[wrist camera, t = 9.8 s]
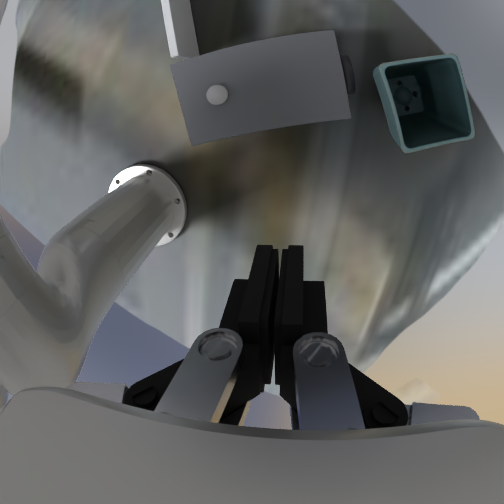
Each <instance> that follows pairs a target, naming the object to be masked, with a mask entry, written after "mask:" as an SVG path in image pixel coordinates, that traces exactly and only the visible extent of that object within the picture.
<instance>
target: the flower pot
mask: <svg viewBox="0 0 504 504" xmlns="http://www.w3.org/2000/svg"><path fill="white" fill-rule="evenodd" d="M373 77H374V80H375V83H376V86H377V89H378V92H379V95H380V98H381V102H382V105H383V108H384V112H385V115H386V119H387V123H388V127H389V131H390V134H391V136H392V137H393V139H394V140H395V142H396V143H397V144H398V146H399V147H400V148H401V149H402V151H403V152H404V153H411V152H415V151H419V150H423V149H427V148H431V147H436V146H440V145H444V144H449V143H454V142H459V141H465V140H470V139H472V138H474V136H475V130H474V124H473V119H472V114H471V108H470V103H469V99H468V94H467V90H466V86H465V81H464V78H463V74H462V70H461V66H460V63H459V60H458V58H457V56H456V55H455V54H443V55H436V56H428V57H420V58H413V59H406V60H399V61H393V62H387V63H382V64H380V65H379V66H378V67H376V68H375V69H374V70H373ZM398 81H400V82H401V85H398V84H397V82H398ZM413 92H415V93H416V95H415V96H414V95H413V94H412V93H413ZM405 107H408V110H405V109H404V108H405Z"/></svg>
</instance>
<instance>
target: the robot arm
mask: <svg viewBox="0 0 504 504" xmlns="http://www.w3.org/2000/svg"><path fill="white" fill-rule="evenodd" d="M151 171H152V172H151ZM179 199H180V200H179ZM186 216H187V205H186V201H185V197H184V194H183V192H182V190H181V188H180V186H179V185H178V184H177V182H176V181H175V180H174V179H173V178H172V177H171V176H170V175H169V174H168V173H167V172H165V171H164V170H162V169H160V168H158V167H156V166H153V165H148V164H137V165H132V166H130V167H128V168H126V169H124V170H122V171H121V172H120V173H119V174H118V175H117V176H116V177H115V178H114V180H113V181H112V183H111V185H110V188H109V193H108V194H106V195H105V196H104V197H102V198H101V199H100V200H98V201H97V202H96V203H94V204H93V205H91V206H90V207H89V208H88V209H86V210H85V211H84V212H82V213H81V214H80V215H78V216H77V217H76V218H75V219H73V220H72V221H71V222H70V223H68V224H67V225H66V226H65V227H63V228H62V229H61V230H60V231H59V232H57V233H56V234H55V235H54V236H53V237H52V238H51V239H50V240H49V242H48V243H47V245H46V246H45V248H44V251H43V253H42V255H41V257H40V261H39V264H38V269H37V272H36V271H35V269H34V268H33V266H32V265H31V263H30V262H29V260H28V259H27V257H26V256H25V254H24V252H23V251H22V249H21V248H20V246H19V245H18V243H17V241H16V239H15V238H14V236H13V234H12V233H11V231H10V230H9V228H8V226H7V225H6V223H5V221H4V220H3V218H2V217H1V215H0V504H504V425H502V424H499V423H495V422H491V421H485V420H479V416H478V415H477V413H476V412H475V411H474V410H473V409H471V408H470V407H466V406H452V405H437V404H426V403H416V402H413V403H412V405H406V404H404V403H403V402H402V401H401V400H399V399H398V398H397V397H395V396H394V395H393V394H391V393H390V392H388V391H387V390H385V389H384V388H383V387H381V386H380V385H378V384H377V383H376V382H374V381H373V380H371V379H370V378H369V377H367V376H366V375H364V374H363V373H362V372H360V371H359V370H358V369H356V368H355V367H353V366H352V365H351V364H349V363H348V360H347V357H346V353H345V350H344V347H343V345H342V343H341V342H340V341H339V340H338V339H337V338H336V337H334V336H332V335H331V334H328V331H327V314H326V299H325V287H324V281H303V246H300V245H289V246H288V249H283V250H282V259H281V268H280V277H279V257H278V249H273V246H272V245H257V248H256V252H255V256H254V259H253V263H252V267H251V271H250V275H249V279H235V280H234V282H233V285H232V288H231V291H230V294H229V297H228V301H227V304H226V307H225V310H224V313H223V316H222V320H221V323H220V326H219V328H214V329H210V330H208V331H205V332H203V333H202V334H201V335H199V336H198V337H197V339H196V340H195V341H194V343H193V345H192V346H191V348H190V350H189V352H188V353H187V355H186V357H185V358H184V359H182V360H181V361H178V362H176V363H174V364H173V365H171V366H169V367H167V368H165V369H163V370H161V371H159V372H157V373H155V374H152V375H150V376H148V377H146V378H144V379H142V380H140V381H138V382H136V383H135V384H133V385H132V386H131V387H127V385H126V384H119V383H91V382H76V380H77V378H78V376H79V374H80V372H81V369H82V367H83V364H84V362H85V359H86V356H87V353H88V350H89V347H90V345H91V342H92V340H93V337H94V335H95V333H96V331H97V329H98V327H99V325H100V323H101V322H102V319H103V318H104V316H105V315H106V313H107V312H108V310H109V308H110V307H111V306H112V304H113V303H114V301H115V300H116V298H117V297H118V296H119V294H120V293H121V292H122V290H123V289H124V288H125V286H126V285H127V283H128V282H129V281H130V279H131V278H132V277H133V275H134V274H135V273H136V271H137V270H138V269H139V267H140V266H141V265H142V263H143V262H144V261H145V259H146V258H147V257H148V255H149V254H150V253H151V251H152V250H153V249H154V248H155V246H161V245H165V244H167V243H169V242H171V241H172V240H174V239H175V238H176V237H177V236H178V234H179V233H180V232H181V230H182V228H183V227H184V224H185V221H186ZM274 353H275V385H280V396H281V397H282V398H283V399H284V400H286V401H287V402H288V403H289V404H290V416H291V427H292V430H285V429H269V428H256V427H245V426H243V424H244V421H245V418H246V416H247V413H248V410H249V408H250V404H251V400H252V399H253V398H255V397H256V396H258V395H259V394H260V392H264V386H265V384H271V377H272V369H273V361H274ZM8 393H10V394H12V395H13V397H12V398H11V399H10V400H9V401H8V403H7V399H8ZM6 403H7V404H6Z"/></svg>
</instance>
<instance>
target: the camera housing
mask: <svg viewBox="0 0 504 504" xmlns="http://www.w3.org/2000/svg"><path fill="white" fill-rule="evenodd" d="M170 66H171V70H172V74H173V78H174V82H175V86H176V90H177V93H178V97H179V101H180V105H181V108H182V112H183V116H184V120H185V123H186V127H187V131H188V134H189V138H190V141H191V145H192V146H194V145H198V144H202V143H206V142H211V141H215V140H219V139H224V138H228V137H233V136H238V135H243V134H248V133H253V132H259V131H264V130H270V129H276V128H282V127H288V126H295V125H302V124H309V123H317V122H325V121H333V120H343V119H351V113H350V107H349V101H348V95H347V94H354V92H355V80H354V73H353V69H352V65H351V62H350V59H349V57H348V55H346V54H345V55H339V50H338V46H337V41H336V37H335V33H334V30H327V31H316V32H308V33H300V34H293V35H286V36H280V37H274V38H269V39H264V40H259V41H254V42H249V43H245V44H240V45H236V46H232V47H228V48H224V49H221V50H217V51H213V52H210V53H206V54H203V55H200V56H196V57H193V58H190V59H187V60H184V61H181V62H178V63H175V64H172V65H170Z"/></svg>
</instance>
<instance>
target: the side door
mask: <svg viewBox="0 0 504 504" xmlns="http://www.w3.org/2000/svg"><path fill="white" fill-rule="evenodd" d="M161 3H162V9H163V15H164V21H165V27H166V33H167V38H168V44H169V49H170V55H171V58H177V59H184V60H187V59H190V58H193V57H196V56H200V55H199V49H198V44H197V39H196V33H195V28H194V22H193V17H192V11H191V6H190V0H161Z"/></svg>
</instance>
